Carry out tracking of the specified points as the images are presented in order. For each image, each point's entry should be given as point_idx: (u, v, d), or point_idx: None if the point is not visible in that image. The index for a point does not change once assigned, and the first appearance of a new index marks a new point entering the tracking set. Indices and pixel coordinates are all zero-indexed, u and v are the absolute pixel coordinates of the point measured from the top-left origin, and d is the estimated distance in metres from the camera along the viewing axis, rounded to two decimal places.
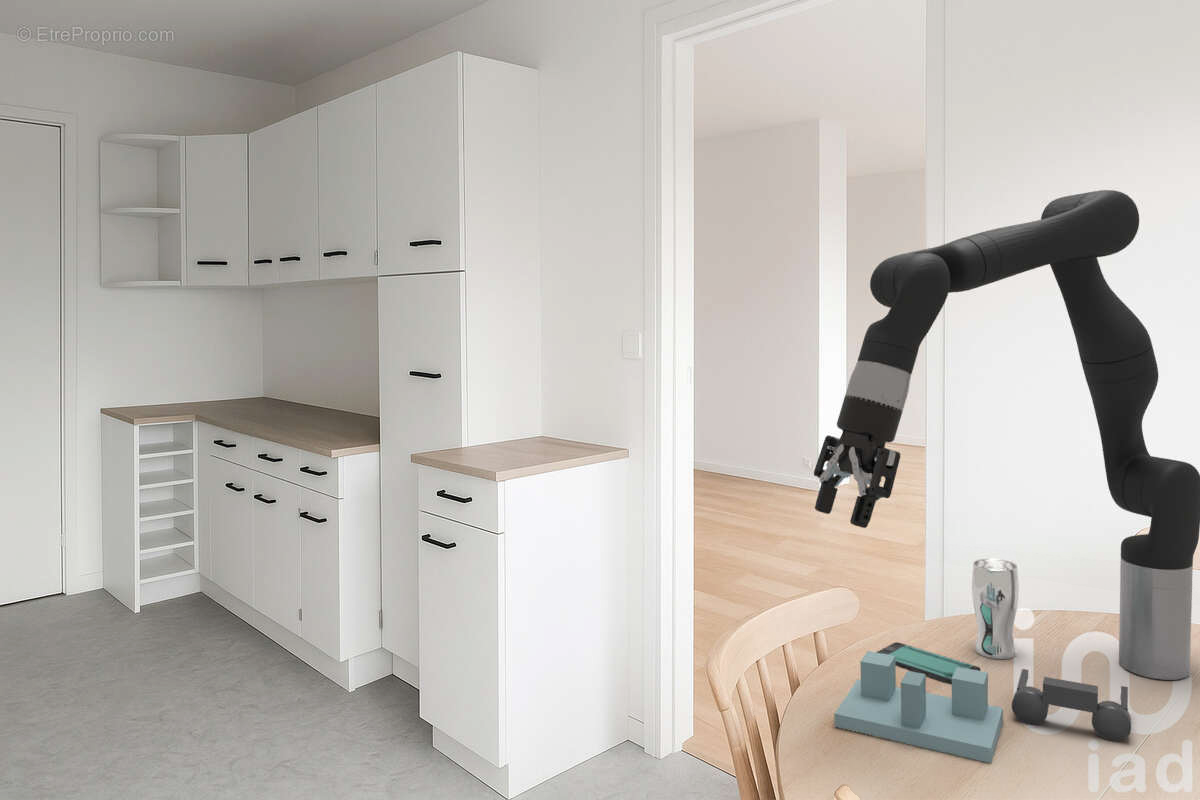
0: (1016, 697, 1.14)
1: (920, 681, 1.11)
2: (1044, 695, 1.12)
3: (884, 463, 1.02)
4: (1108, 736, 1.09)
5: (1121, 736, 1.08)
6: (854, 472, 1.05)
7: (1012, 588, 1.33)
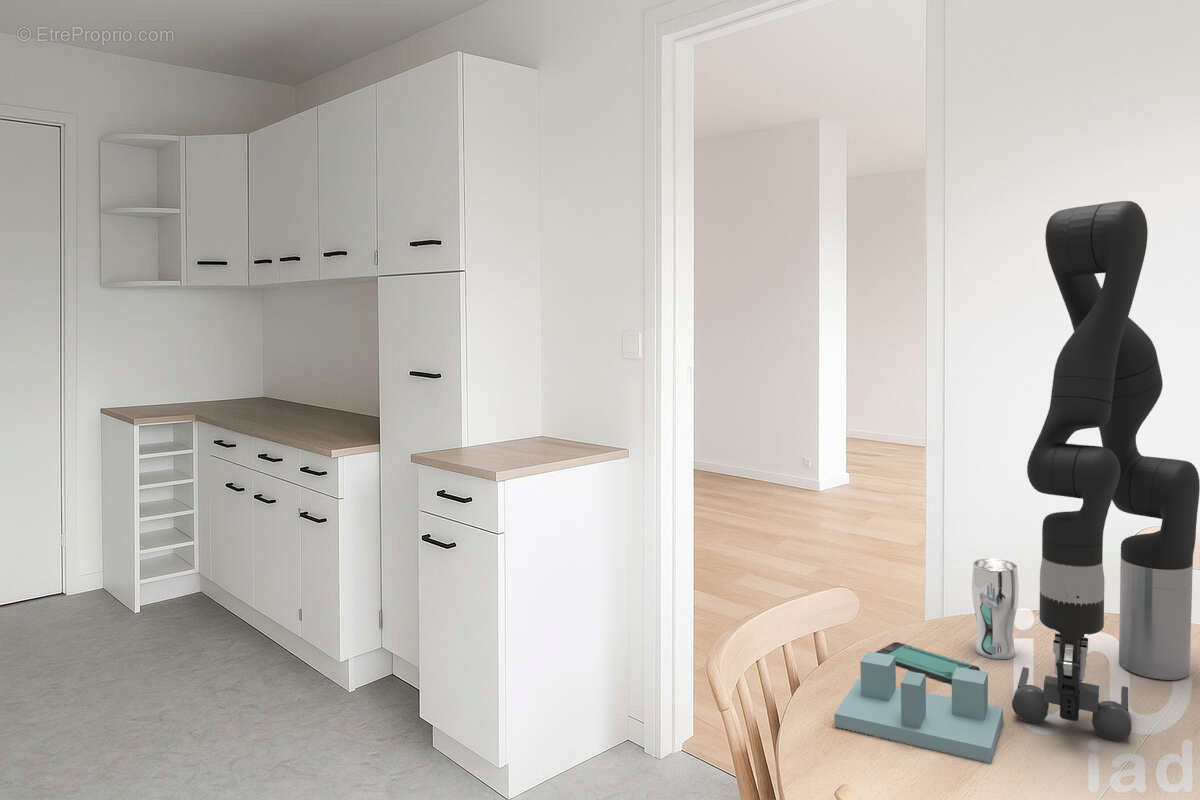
0: (1017, 695, 1.14)
1: (920, 681, 1.11)
2: (1045, 694, 1.12)
3: (1060, 675, 1.07)
4: (1108, 736, 1.09)
5: (1121, 736, 1.08)
6: None
7: (1012, 588, 1.33)
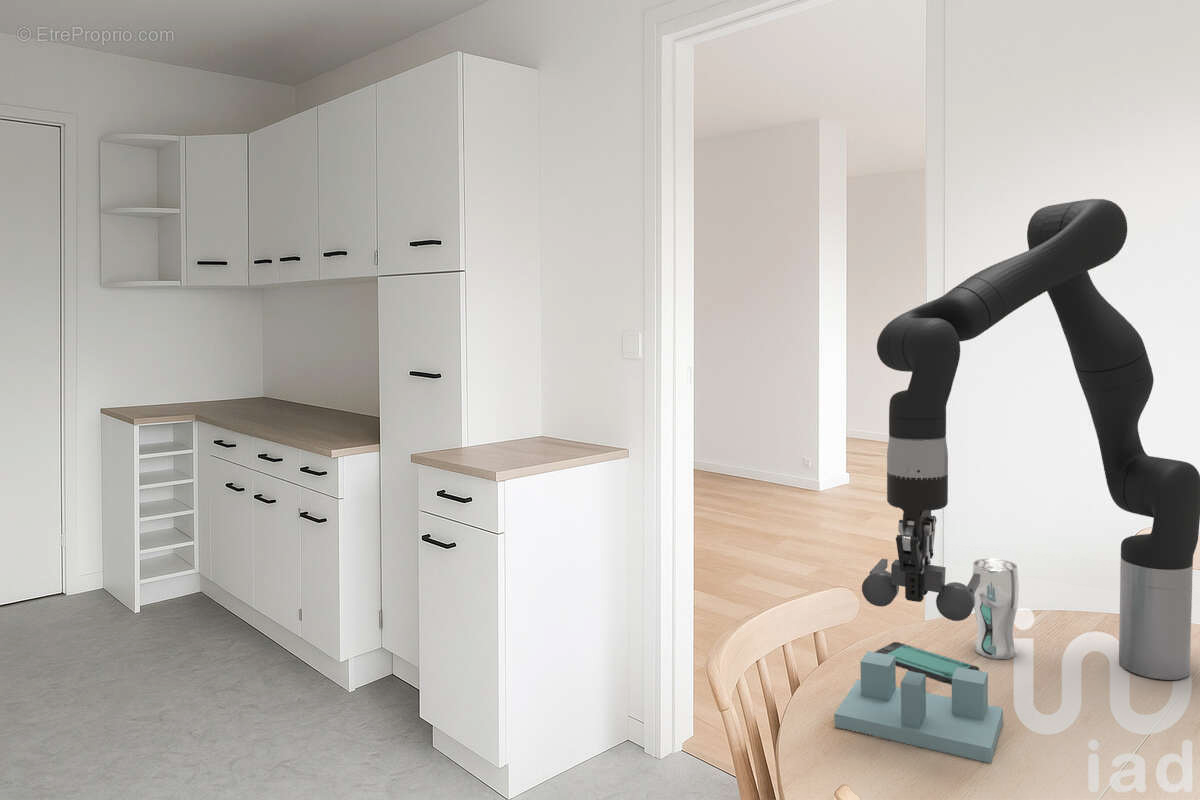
0: (866, 579, 1.13)
1: (920, 681, 1.11)
2: (892, 576, 1.11)
3: (900, 550, 1.05)
4: (951, 616, 1.07)
5: (963, 615, 1.06)
6: None
7: (1012, 588, 1.33)
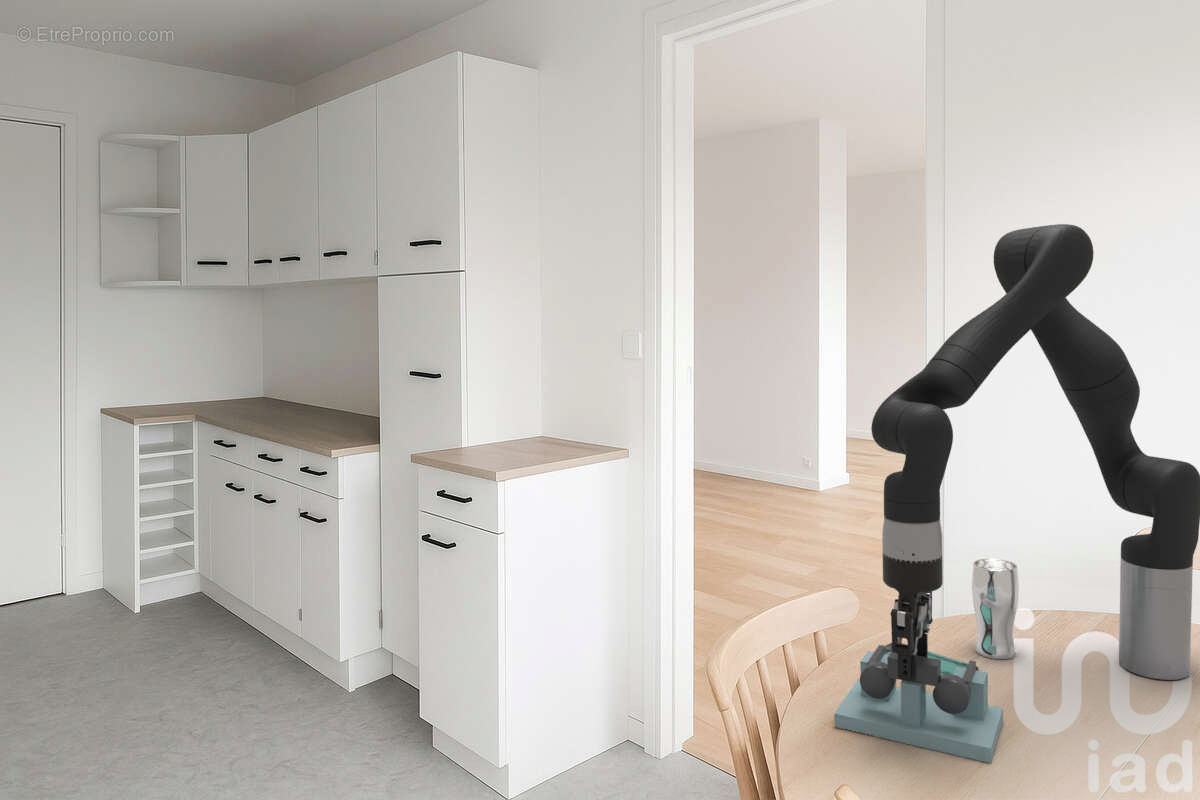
0: (863, 671, 1.14)
1: None
2: (889, 669, 1.12)
3: (894, 625, 1.06)
4: (948, 709, 1.09)
5: (959, 709, 1.08)
6: None
7: (1012, 588, 1.33)
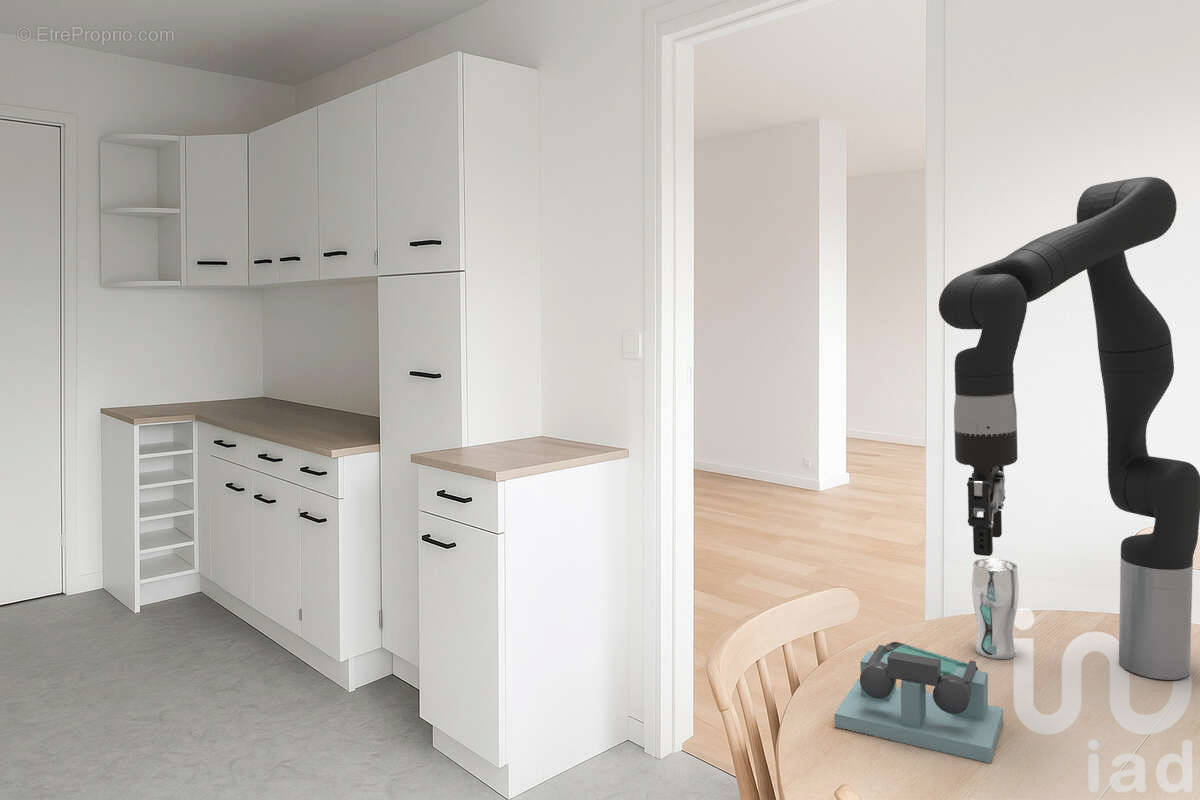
0: (863, 671, 1.14)
1: None
2: (889, 669, 1.12)
3: (971, 495, 1.05)
4: (948, 709, 1.09)
5: (959, 709, 1.08)
6: None
7: (1012, 588, 1.33)
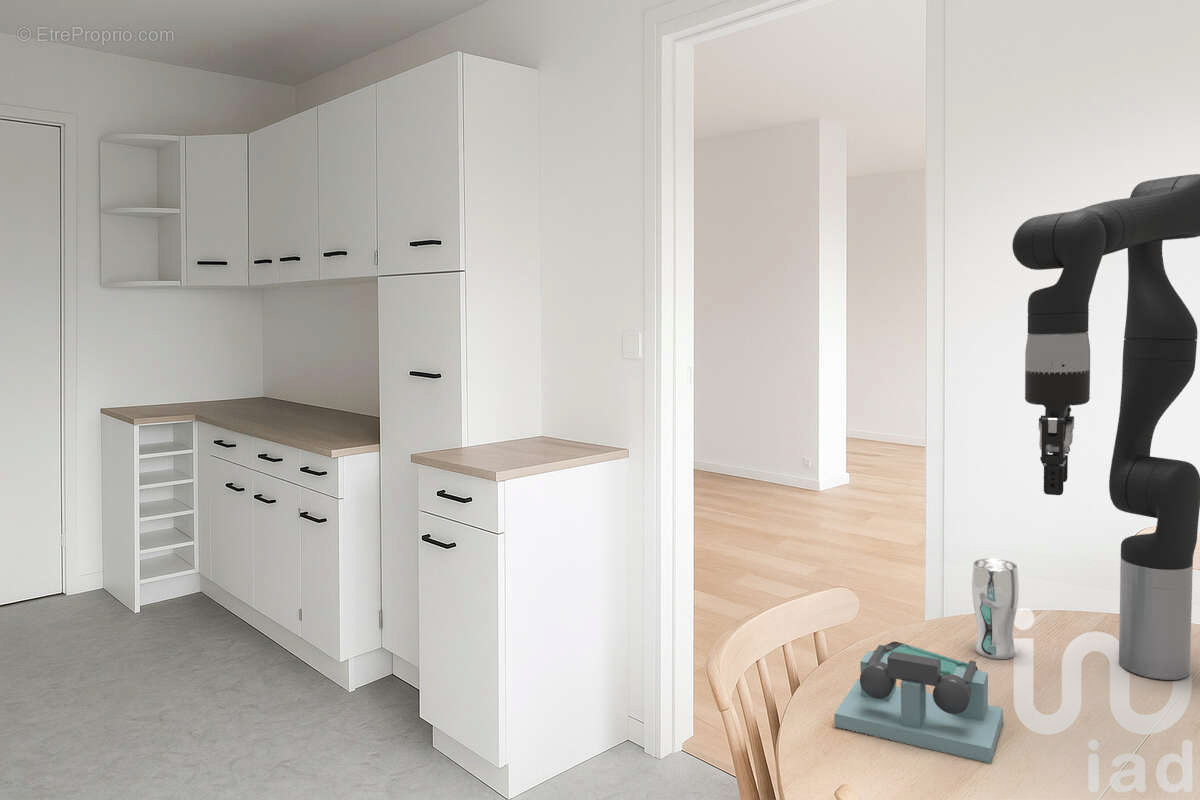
0: (863, 671, 1.14)
1: None
2: (889, 669, 1.12)
3: (1045, 432, 1.04)
4: (948, 709, 1.09)
5: (959, 709, 1.08)
6: None
7: (1012, 588, 1.33)
